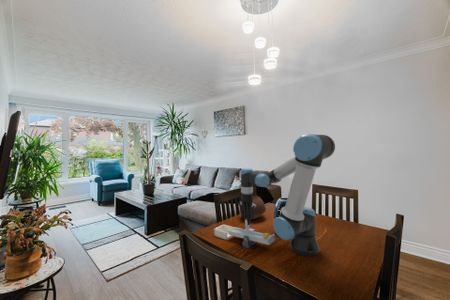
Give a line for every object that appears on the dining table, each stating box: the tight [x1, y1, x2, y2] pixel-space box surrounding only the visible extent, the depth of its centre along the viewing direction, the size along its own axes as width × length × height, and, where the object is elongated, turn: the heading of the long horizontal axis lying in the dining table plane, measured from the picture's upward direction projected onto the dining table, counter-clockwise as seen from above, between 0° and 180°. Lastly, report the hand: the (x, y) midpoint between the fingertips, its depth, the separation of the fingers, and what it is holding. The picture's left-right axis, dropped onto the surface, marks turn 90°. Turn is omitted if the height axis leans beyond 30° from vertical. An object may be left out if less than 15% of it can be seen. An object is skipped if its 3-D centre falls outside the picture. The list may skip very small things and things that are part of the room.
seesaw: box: [228, 226, 276, 246], centre depth 122 cm, size 28×13×3 cm, turn 49°
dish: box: [213, 224, 235, 241], centre depth 133 cm, size 11×10×4 cm
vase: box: [251, 185, 267, 220], centre depth 162 cm, size 25×20×30 cm
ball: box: [263, 232, 271, 239], centre depth 113 cm, size 4×4×4 cm
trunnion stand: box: [242, 230, 258, 249], centre depth 120 cm, size 4×11×6 cm, turn 139°
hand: (247, 229), depth 129 cm, fingers closed
